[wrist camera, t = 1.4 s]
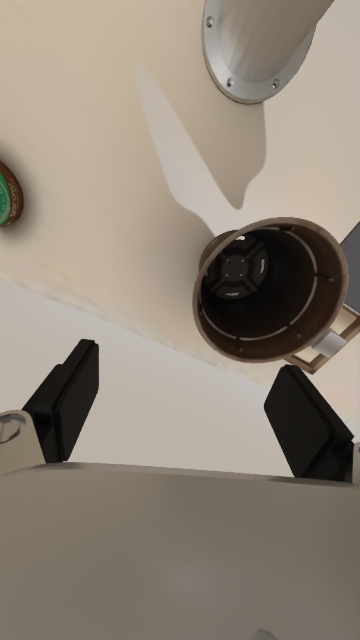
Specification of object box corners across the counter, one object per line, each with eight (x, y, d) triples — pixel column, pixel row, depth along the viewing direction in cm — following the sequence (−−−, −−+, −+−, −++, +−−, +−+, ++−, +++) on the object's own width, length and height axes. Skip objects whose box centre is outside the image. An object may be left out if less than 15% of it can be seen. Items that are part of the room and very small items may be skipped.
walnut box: (307, 281, 39) (315, 285, 36) (359, 316, 42) (369, 322, 40) (256, 339, 44) (260, 347, 42) (305, 366, 48) (312, 374, 45)
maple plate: (315, 290, 39) (338, 303, 33) (352, 315, 41) (379, 331, 36) (270, 339, 43) (283, 358, 38) (306, 359, 46) (323, 380, 40)
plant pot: (177, 225, 34) (178, 238, 20) (282, 202, 33) (363, 198, 19) (195, 316, 42) (204, 373, 27) (280, 300, 40) (338, 351, 26)
